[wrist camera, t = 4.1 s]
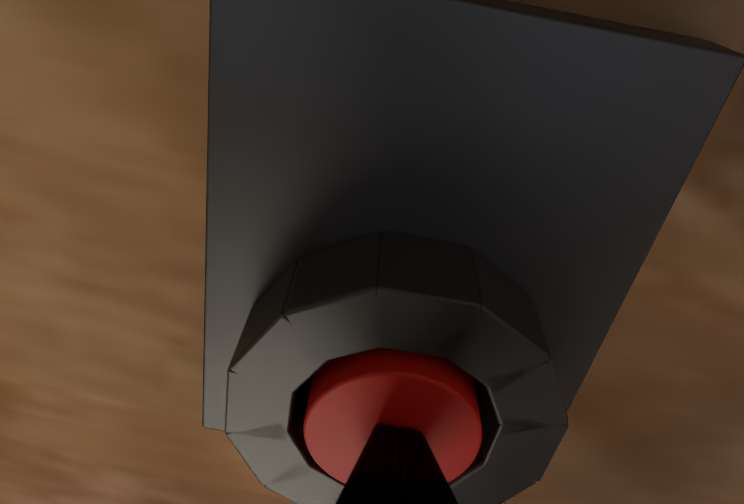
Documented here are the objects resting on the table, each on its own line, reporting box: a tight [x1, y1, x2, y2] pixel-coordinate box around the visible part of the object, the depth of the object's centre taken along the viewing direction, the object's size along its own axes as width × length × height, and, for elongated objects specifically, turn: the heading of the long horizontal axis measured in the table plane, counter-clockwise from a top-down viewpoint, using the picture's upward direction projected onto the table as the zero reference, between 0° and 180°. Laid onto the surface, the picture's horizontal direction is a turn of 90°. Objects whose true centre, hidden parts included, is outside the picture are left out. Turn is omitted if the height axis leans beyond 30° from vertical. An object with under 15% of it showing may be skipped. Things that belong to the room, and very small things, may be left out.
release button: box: [303, 347, 482, 484], centre depth 11 cm, size 3×3×2 cm
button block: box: [202, 0, 744, 504], centre depth 10 cm, size 10×8×3 cm
